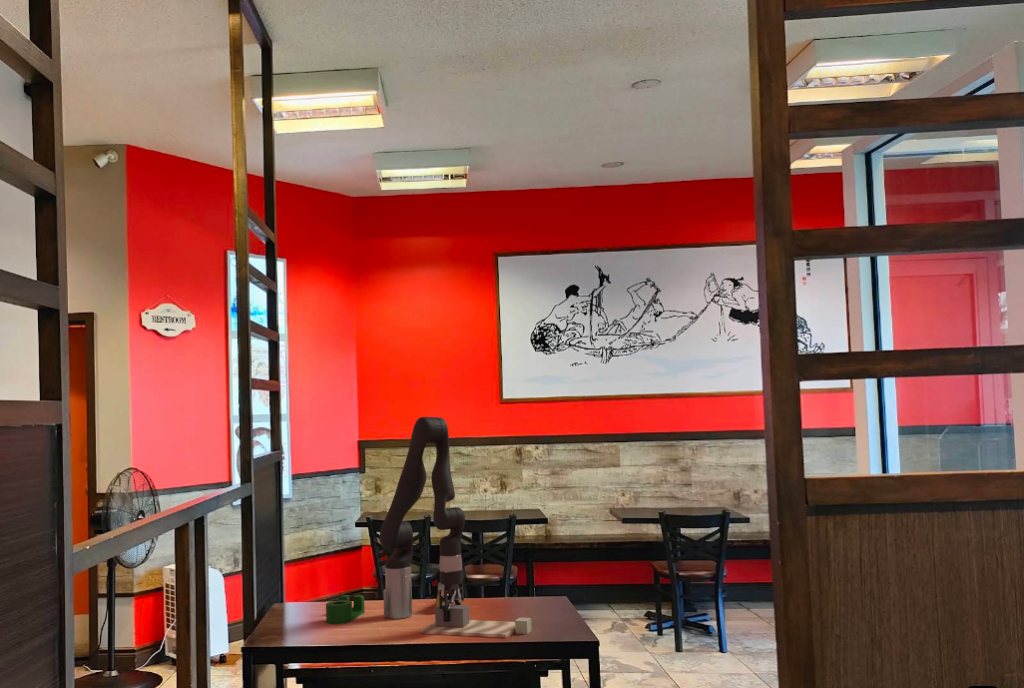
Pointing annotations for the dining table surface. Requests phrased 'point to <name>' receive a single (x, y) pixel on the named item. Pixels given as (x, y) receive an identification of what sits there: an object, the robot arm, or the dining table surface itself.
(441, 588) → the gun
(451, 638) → the dining table surface
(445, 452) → the robot arm
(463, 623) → the block
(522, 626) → the wood offcut
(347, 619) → the green bracket
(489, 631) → the plywood board
